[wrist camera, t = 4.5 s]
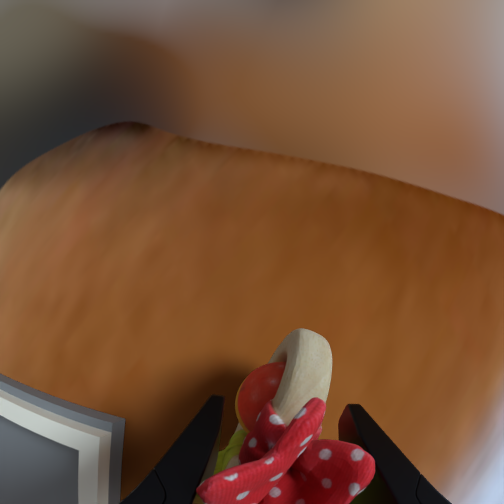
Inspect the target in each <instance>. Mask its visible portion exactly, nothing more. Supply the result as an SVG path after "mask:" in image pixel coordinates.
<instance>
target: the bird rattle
mask: <svg viewBox="0 0 504 504" xmlns="http://www.w3.org/2000/svg"><path fill="white" fill-rule="evenodd" d="M331 373H332V353H331V349H330V346H329V343H328V342H327V340H326V339H325V338H324V337H322V336H321V335H319V334H317V333H315V332H313V331H310V330H307V329H303V328H301V329H296V330H294V331H292V332H291V333H290V334H289V335H288V336H287V337H286V338H285V339H284V340H283V341H282V343H281V344H280V345H279V347H278V348H277V350H276V351H275V353H274V354H273V356H272V357H271V359H270V361H269V362H268V364H266V365H263V366H261V367H259V368H257V369H255V370H254V371H252V372H251V373H250V374H249V375H248V376H247V377H246V378H245V380H244V381H243V382H242V384H241V385H240V387H239V389H238V391H237V395H236V400H235V411H236V416H237V418H238V421H239V423H238V426H237V428H236V431H235V433H234V434H233V436H232V437H231V439H230V441H229V445H228V446H227V447H226V448H225V450H222V451H219V452H218V458H217V463H216V467H215V470H214V474H213V476H211V477H209V478H207V479H206V480H205V481H203V482H202V483H201V484H200V485H199V486H198V488H197V489H196V492H197V493H198V495H199V497H200V498H201V499H202V501H203V503H204V504H350V503H351V501H352V500H353V499H354V498H355V497H356V496H357V495H358V494H359V493H361V492H362V491H363V490H364V489H365V488H366V487H367V486H368V485H369V484H370V482H371V480H372V479H373V477H374V474H375V460H374V458H373V457H372V456H371V455H370V454H369V453H367V452H366V451H364V450H363V449H362V448H361V447H360V446H358V445H356V444H352V443H348V442H344V441H338V440H326V439H322V440H317V439H318V437H319V435H320V433H321V431H322V427H321V424H322V421H323V418H324V415H325V409H326V405H325V402H326V399H327V396H328V391H329V387H330V381H331Z"/></svg>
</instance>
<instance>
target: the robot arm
mask: <svg viewBox="0 0 504 504" xmlns="http://www.w3.org/2000/svg"><path fill="white" fill-rule="evenodd" d="M224 403H225V397H224V396H223V395H216V394H212V395H211V396H210V397H209V398H208V400H207V401H206V402H205V403H204V405H203V406H202V407H201V409H200V410H199V411H198V413H197V414H196V415H195V417H194V418H193V419H192V420H191V422H190V423H189V424H188V426H187V427H186V428H185V429H184V431H183V432H182V433H181V434H180V436H179V437H178V438H177V439H176V441H175V442H174V443H173V445H172V446H171V447H170V448H169V450H168V451H167V452H166V453H165V454H164V456H163V457H162V458H161V459H160V461H159V462H158V463H157V464H156V466H155V467H154V469H152V470H151V471H150V473H149V474H148V475H147V476H146V477H145V479H144V480H143V481H142V482H141V483H140V484H139V485H138V486H137V487H136V488H135V489H134V490H133V491H132V492H131V493H130V494H129V495H128V496H127V497H126V498H125V499H123V500H122V501H121V502H120V503H119V504H204V503H203V501H202V499H201V498H200V497H199V495H198V493H197V492H196V489H197V488H198V486H199V485H200V484H201V483H202V482H203V481H205V480H206V479H207V478H209V477H211V476H213V474H214V470H215V467H216V463H217V458H218V452H219V445H220V437H221V429H222V421H223V413H224ZM338 429H339V441H344V442H348V443H352V444H356V445H358V446H360V447H361V448H362V449H363V450H364V451H366V452H367V453H369V454H370V455H371V456H372V457H373V458H374V460H375V474H374V477H373V479H372V480H371V482H370V484H369V485H368V486H367V487H366V488H365V489H364V490H363V491H362V492H361V493H359V494H358V495H357V496H356V497H355V498H354V499H353V500H352V501H351V503H350V504H452V503H450V502H449V501H448V500H447V499H446V498H445V497H444V496H443V495H441V494H440V493H439V492H438V491H437V490H436V489H435V488H434V487H433V486H432V485H431V484H430V483H429V482H428V481H427V479H426V478H425V477H424V476H423V475H422V474H420V472H419V471H418V470H417V468H416V467H415V466H414V465H413V464H412V463H411V462H410V461H409V459H408V458H407V457H406V456H405V455H404V454H403V453H402V452H401V450H400V449H399V448H398V447H397V446H396V445H395V444H394V443H393V441H392V440H391V439H390V438H389V437H388V436H387V435H386V433H385V432H384V431H383V430H382V429H381V428H380V427H379V425H378V424H377V423H376V422H375V421H374V420H373V419H372V417H371V416H370V415H369V414H368V413H367V412H366V411H365V409H364V408H363V407H362V406H361V405H360V404H348V405H346V407H345V409H344V411H343V413H342V415H341V417H340V419H339V424H338Z"/></svg>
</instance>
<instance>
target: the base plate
mask: <svg viewBox="0 0 504 504" xmlns="http://www.w3.org/2000/svg"><path fill="white" fill-rule="evenodd" d="M124 429H125V418H121V417H117V416H113V415H110V414H106V413H103V412H99V411H96V410H93V409H90V408H86V407H83V406H80V405H77V404H74V403H71V402H68V401H65V400H63V399H60V398H57V397H54V396H52V395H49V394H46V393H44V392H41V391H39V390H36V389H34V388H31V387H29V386H27V385H24V384H22V383H20V382H17V381H15V380H13V379H11V378H8V377H6V376H4V375H2V374H0V504H119V503H120V490H121V468H122V453H123V440H124Z"/></svg>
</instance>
